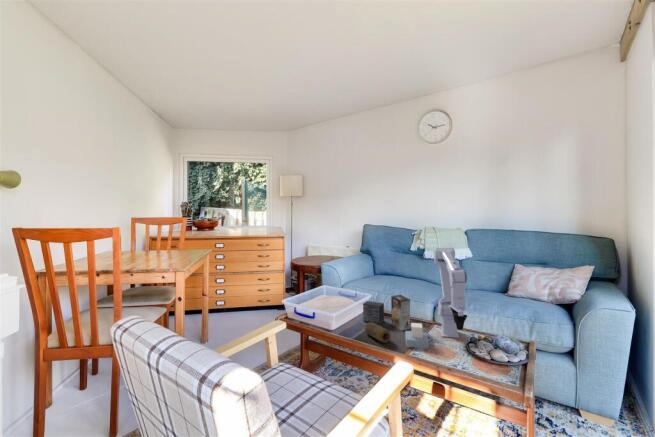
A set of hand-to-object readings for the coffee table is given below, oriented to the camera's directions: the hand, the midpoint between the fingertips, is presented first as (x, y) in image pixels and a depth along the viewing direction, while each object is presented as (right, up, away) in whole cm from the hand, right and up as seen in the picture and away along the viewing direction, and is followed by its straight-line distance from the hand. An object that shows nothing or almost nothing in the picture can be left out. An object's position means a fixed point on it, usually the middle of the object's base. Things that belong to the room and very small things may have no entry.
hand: (458, 326), depth 138 cm
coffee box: (-20, -10, +27) cm, 35 cm away
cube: (-17, -7, +7) cm, 19 cm away
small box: (-33, -10, +35) cm, 49 cm away
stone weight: (-34, -11, +14) cm, 39 cm away
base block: (-17, -11, +7) cm, 21 cm away
